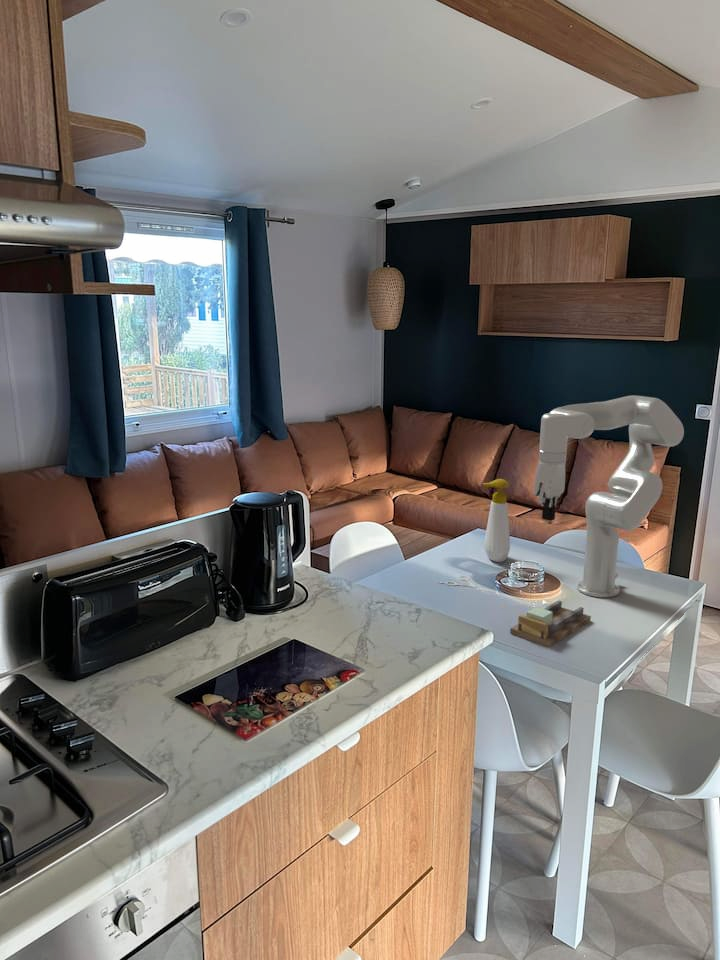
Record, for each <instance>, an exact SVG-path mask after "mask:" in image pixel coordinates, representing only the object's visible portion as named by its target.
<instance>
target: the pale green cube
mask: <svg viewBox="0 0 720 960" xmlns="http://www.w3.org/2000/svg"><path fill="white" fill-rule="evenodd" d="M552 615H553V612H551V611H548V610H545V608H541V607H538V606H535V607H533V608H531V609H529V610H528V611H526V616H527V617H530V618H534V619H537V620H540V621H543V622H546V623H548V626H550V625H551V624H552Z"/></svg>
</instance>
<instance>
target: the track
mask: <svg viewBox="0 0 720 960" xmlns="http://www.w3.org/2000/svg"><path fill="white" fill-rule="evenodd" d="M562 602H563V601H561V600H557V601H556V602H554V603H551V604H550V605H548V606H546V607H545V608H544V609H545V610H548V611H551V612H553V615H552V624H551V625H550V626H548V623H546V622H543V621H540V620H537V619H534V618H530V617H527V615H523V614H520V615H518V620H517V622H518V623H517V624H516V625H514V626H512V627H510V631H509V632H510V633H512V634H511V635H513V634H514V636H516V637H519V638H522V639H525V640H528V641H531V642H534V643H536V644H539V645H542V646H545V647H548V648H551V647H552V646H555V644H557V643H559V642H560V641H562V640H564V639H565V638H566V637H568V636H570V635H571V634H572V633H574V632H576V631H577V630H579V629H580V628H582V627H584V626H585V625H586V624H588V623H590V622H591V619H592V616H591V615H588V614H586V613H585V614H584V607H582V606H580V607H578V608H576V609H575V610H572V609H568V608H566V607H563V606H562ZM510 633H509V634H510Z"/></svg>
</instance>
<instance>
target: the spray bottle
mask: <svg viewBox="0 0 720 960" xmlns="http://www.w3.org/2000/svg"><path fill="white" fill-rule="evenodd" d="M481 484H482V486H484V487H486V488H487V487H489V488H497V491H496V492H494V493H493V494H492V500H491V502H490V507H489V514H488V518H487V519H488V520H487V525H486V529H485V530H486V531H485V536H484V546H483V547H484V550H485V553H486V556H487V558H489V560H491V561H493V562H496V563H501V562H504V561H506V559H507V558H508V556H509V554H510V550H511V549H510V548H511V541H510V540H511V539H510V538H511V536H510V524H509V523H510V522H509V510H508V509H509V507H508V502H507V495H506V493H505V492H503V489H505V488H506V489H507V488H509V487H510V484H509V482H508V481H507V480H506V479H503V478H496V479H495V480H492V481H490V482H483V483H481Z"/></svg>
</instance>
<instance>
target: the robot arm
mask: <svg viewBox="0 0 720 960" xmlns="http://www.w3.org/2000/svg"><path fill="white" fill-rule="evenodd" d="M625 426H628V438H629V439H628V440H629V448H628V452H627V454H626V455H625V457H624V458H623V459H622V462H621V461H620V462H621V463H620V464H619V465H618V466H617V468H616V469H615V470H614V472H613V473H612V475H611V476H610V477H609V479H608V482H607V487H608V490H609V492H608V491H595V492H593V493H592V494H590V495H589V496H588V497H587V499H586V501H585V505H584V507H585V509H584V510H585V517H586V518H585V519H586V539H585V553H584V562H583V563H584V564H583V565H584V566H583V576H582V578H583V579H582V580H581V581H579V582H578V583H577V590H578V591H579V592H580V593H582V594H583V595H587V596H590V597H596V598H612V597H616V596H618V595H619V594H620V587H619V586H618V585H616V584H615V583H616V580H617V578H619V573H617V562H618V551H619V542H620V541H619V540H620V537H619V532H618V529H619V530H624V531H629V532H630V531H634V530H635V529H637V528H638V527H639V526H640V525H641V524H642V523H643V521H644V520H645V519H646V517H647V516H648V515H649V513H650V512H651V510H652V509H653V508H654V506H655V505H656V503H657V502H658V500H659V498H660V497H661V494H662V490H663V481H662V478H661V477H660V476H659V475H658V473H657V474H656V473H655V472H652V471H651V470H652V469H653V467H654V464H655V456H654V452H653V449H652V445H658V446H663V447H675V446H678V445H679V444H680V443H681V442H682V440H683V438H684V435H685V429H684V425H683V423H682V421H681V420H680V418H679V417H678V416H677V415H676V413H674V411H673V410H672V409H671V408H670V407H669V405H667V403H666V402H665V401H663V400H661V399H660V398H657V397H651V396H645V395H634V394H633V395H626V396H622V397H618V398H614V399H609V400H605V401H594V402H588V403H587V402H586V403H585V402H584V403H575V404H567V405H564V406H559V407H556V408H553V409H552V410H551V411H550V412H548V413H544V414H543V415H542V416H541V419H540V433H539V447H538V448H539V451H538V463H537V466H536V472H535V478H534V485H533V486H534V487H533V495H534V497H538V501H537V502H539V503H541V506H542V509H541V510H542V512H541V513H542V514H541V519H542V520H545V521H550V522H552V521H554V520H555V518H556V506H557V505H558V500H559V498H560V497H561V496H562V494H563V493H564V492H565V486H566V485H565V484H566V462H567V454H568V453H567V452H568V441H569V439H576V440H577V439H579V440H581V439H586V438H588V437H590V436H591V435H592V433H594V431H610V430H614V429H618V428H622V427H625Z"/></svg>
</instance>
